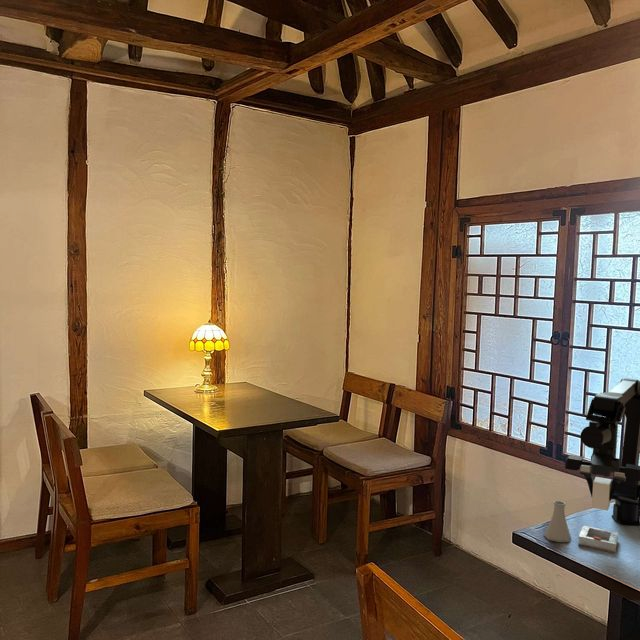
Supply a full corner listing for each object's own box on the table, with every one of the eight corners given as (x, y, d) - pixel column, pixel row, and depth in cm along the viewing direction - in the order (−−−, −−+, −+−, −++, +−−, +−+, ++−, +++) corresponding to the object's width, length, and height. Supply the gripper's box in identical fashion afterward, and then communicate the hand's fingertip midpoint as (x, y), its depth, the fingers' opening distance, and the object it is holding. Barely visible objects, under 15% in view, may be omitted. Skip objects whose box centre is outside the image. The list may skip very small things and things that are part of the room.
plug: (594, 501, 177) (595, 476, 177) (609, 504, 175) (611, 479, 175) (591, 507, 172) (593, 481, 172) (607, 510, 170) (609, 484, 170)
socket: (582, 534, 180) (583, 523, 180) (618, 541, 176) (618, 530, 176) (578, 545, 173) (578, 534, 172) (614, 553, 168) (615, 542, 168)
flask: (573, 544, 173) (576, 508, 172) (545, 541, 174) (547, 505, 174) (568, 534, 180) (571, 499, 179) (541, 531, 181) (543, 496, 181)
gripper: (563, 442, 170) (559, 500, 171) (642, 454, 161) (637, 515, 162) (570, 434, 180) (566, 488, 181) (644, 445, 171) (640, 502, 172)
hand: (601, 498), depth 173 cm, fingers closed on plug, 4 cm apart
